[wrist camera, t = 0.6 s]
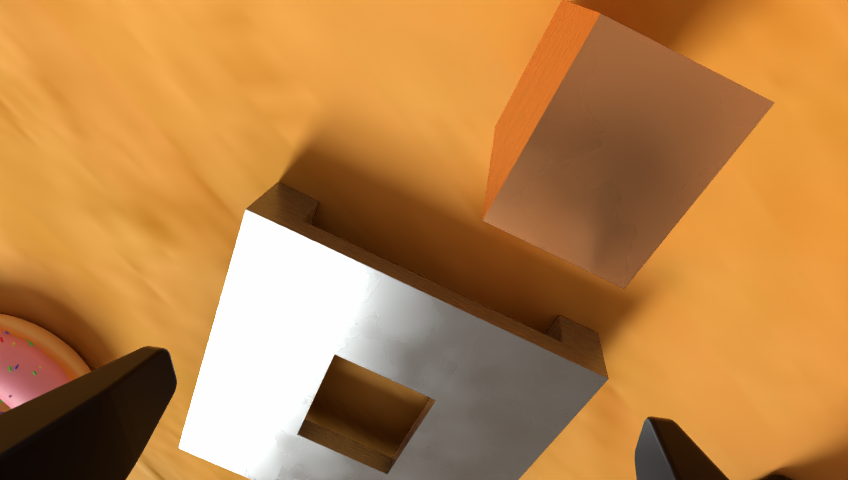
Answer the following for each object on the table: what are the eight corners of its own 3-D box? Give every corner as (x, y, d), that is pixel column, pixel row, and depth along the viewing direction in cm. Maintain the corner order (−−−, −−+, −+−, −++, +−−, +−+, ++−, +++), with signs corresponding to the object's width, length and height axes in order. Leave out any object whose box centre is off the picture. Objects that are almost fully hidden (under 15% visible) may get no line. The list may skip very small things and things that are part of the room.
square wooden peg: (648, 44, 17) (774, 102, 9) (576, 156, 19) (623, 288, 11) (558, -2, 17) (600, 13, 9) (496, 116, 19) (482, 220, 11)
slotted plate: (597, 333, 23) (608, 378, 20) (449, 513, 30) (443, 563, 28) (277, 182, 22) (245, 209, 19) (208, 406, 30) (178, 447, 27)
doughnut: (16, 435, 35) (-43, 489, 31) (-84, 305, 30) (-166, 350, 26) (147, 433, 32) (100, 491, 28) (61, 290, 27) (-9, 338, 24)
